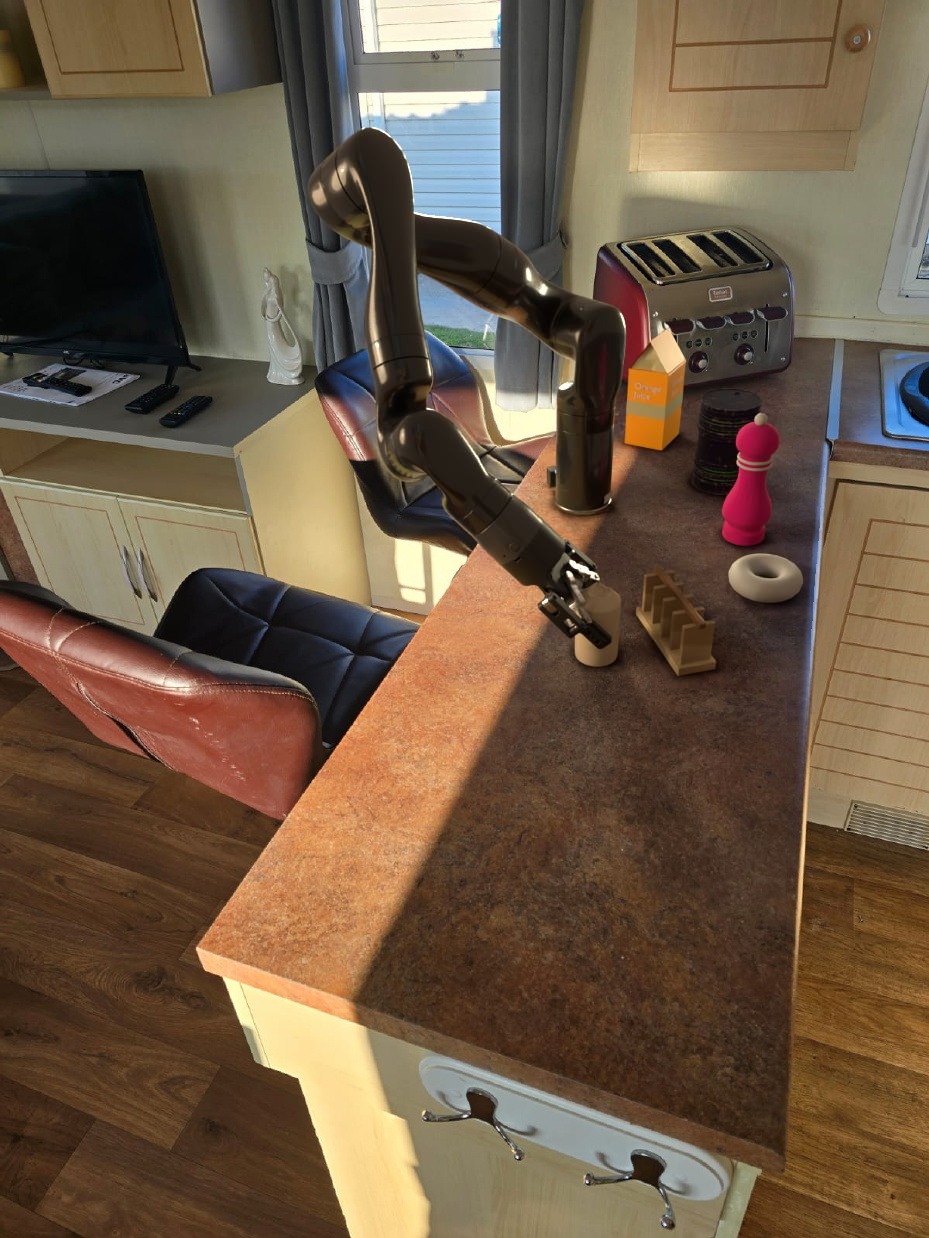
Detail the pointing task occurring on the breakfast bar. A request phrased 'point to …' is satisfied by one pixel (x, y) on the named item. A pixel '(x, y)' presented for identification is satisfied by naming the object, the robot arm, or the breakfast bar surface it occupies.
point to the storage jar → (721, 437)
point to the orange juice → (655, 394)
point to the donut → (754, 587)
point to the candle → (606, 613)
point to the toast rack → (676, 623)
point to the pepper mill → (751, 484)
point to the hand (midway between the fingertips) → (609, 624)
